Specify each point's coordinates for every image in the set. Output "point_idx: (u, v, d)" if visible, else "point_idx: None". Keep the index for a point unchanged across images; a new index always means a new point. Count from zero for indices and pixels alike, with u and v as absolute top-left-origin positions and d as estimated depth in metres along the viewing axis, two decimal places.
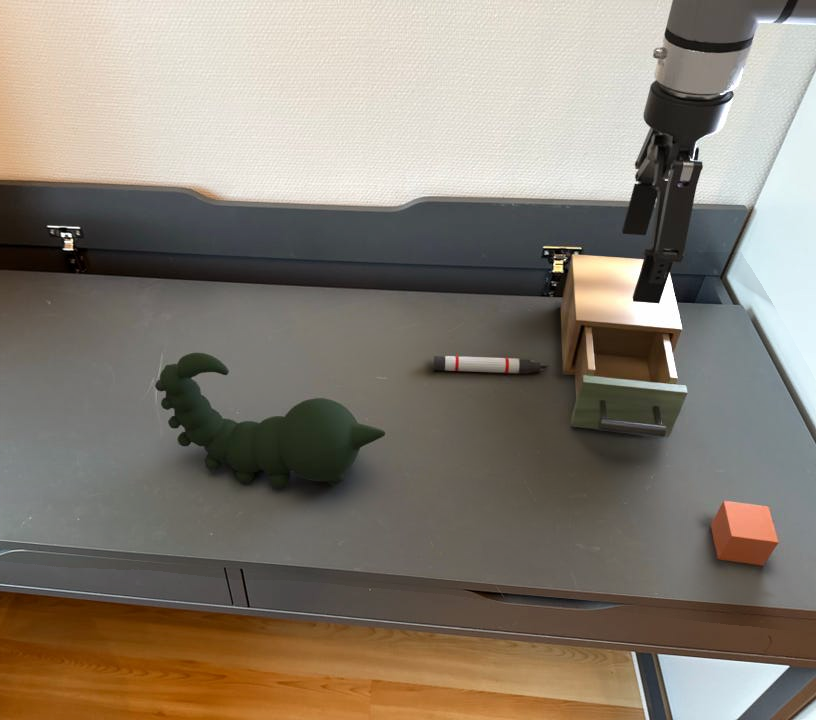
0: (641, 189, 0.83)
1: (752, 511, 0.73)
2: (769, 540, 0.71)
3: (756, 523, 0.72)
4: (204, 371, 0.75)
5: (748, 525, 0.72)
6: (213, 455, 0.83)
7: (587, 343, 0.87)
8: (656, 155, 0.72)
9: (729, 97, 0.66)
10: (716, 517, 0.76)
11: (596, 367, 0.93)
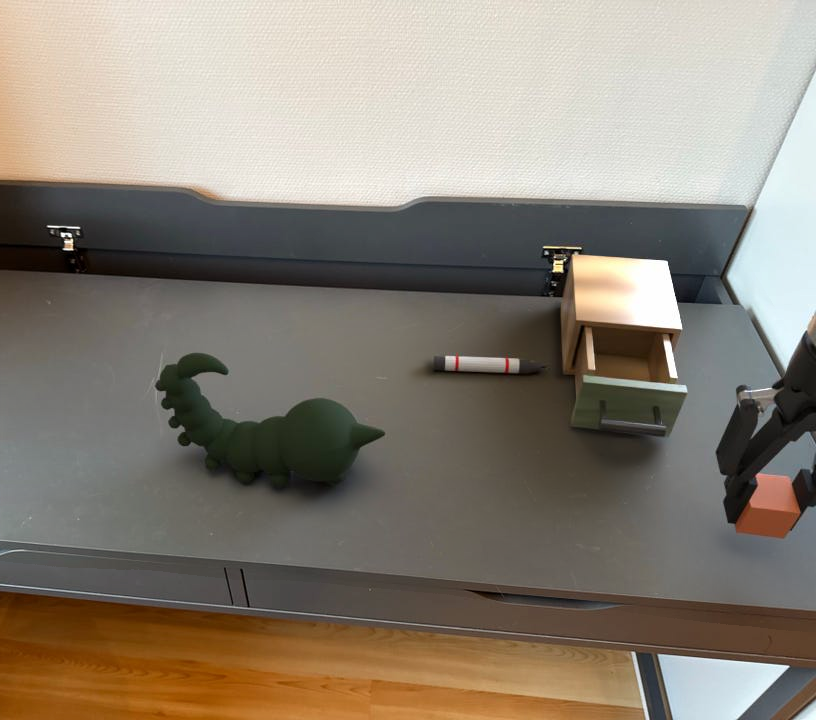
0: None
1: (772, 482, 0.70)
2: (791, 511, 0.67)
3: (777, 494, 0.69)
4: (204, 371, 0.75)
5: (768, 496, 0.69)
6: (213, 455, 0.83)
7: (587, 343, 0.87)
8: None
9: None
10: None
11: (596, 367, 0.93)
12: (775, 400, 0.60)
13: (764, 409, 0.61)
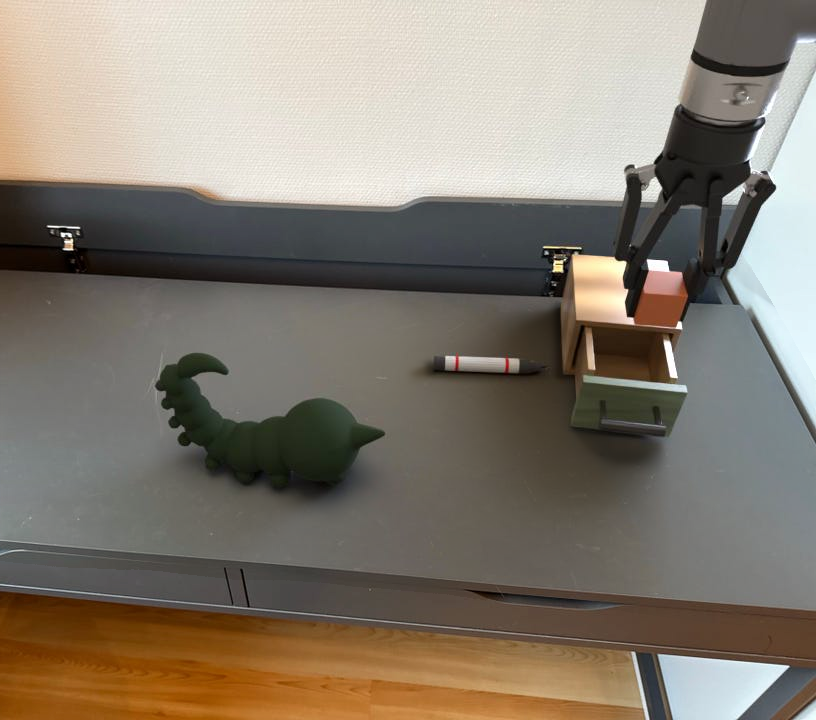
0: None
1: (665, 275, 0.77)
2: (679, 295, 0.74)
3: (668, 284, 0.76)
4: (204, 371, 0.75)
5: (660, 285, 0.76)
6: (213, 455, 0.83)
7: (587, 343, 0.87)
8: (720, 189, 0.66)
9: None
10: None
11: (596, 367, 0.93)
12: (655, 172, 0.67)
13: (647, 184, 0.68)
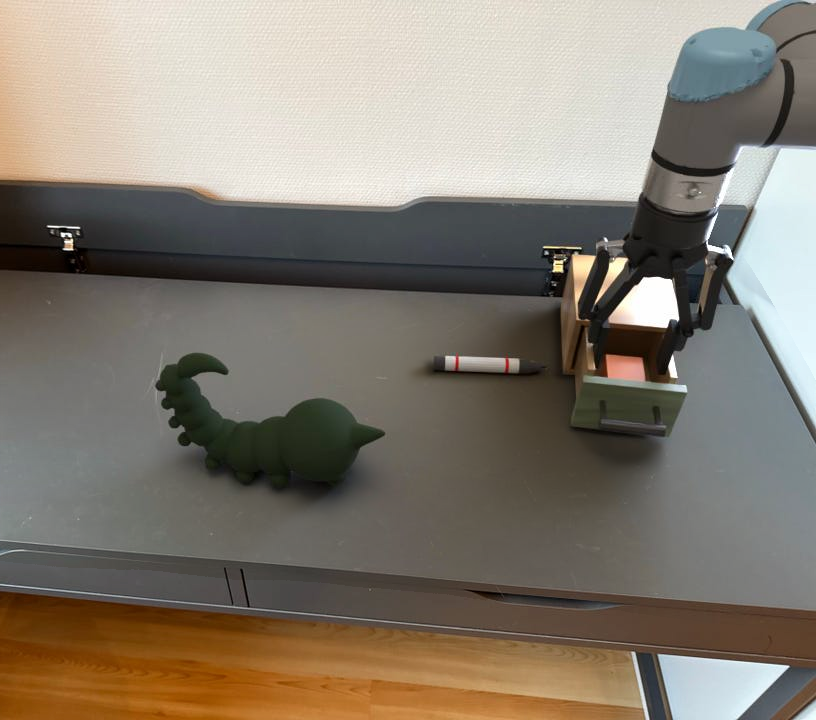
0: None
1: (628, 361, 0.87)
2: (638, 380, 0.85)
3: (630, 369, 0.86)
4: (204, 371, 0.75)
5: (622, 370, 0.86)
6: (213, 455, 0.83)
7: (587, 343, 0.87)
8: (682, 265, 0.73)
9: None
10: (601, 370, 0.90)
11: None
12: (623, 248, 0.75)
13: (615, 257, 0.76)
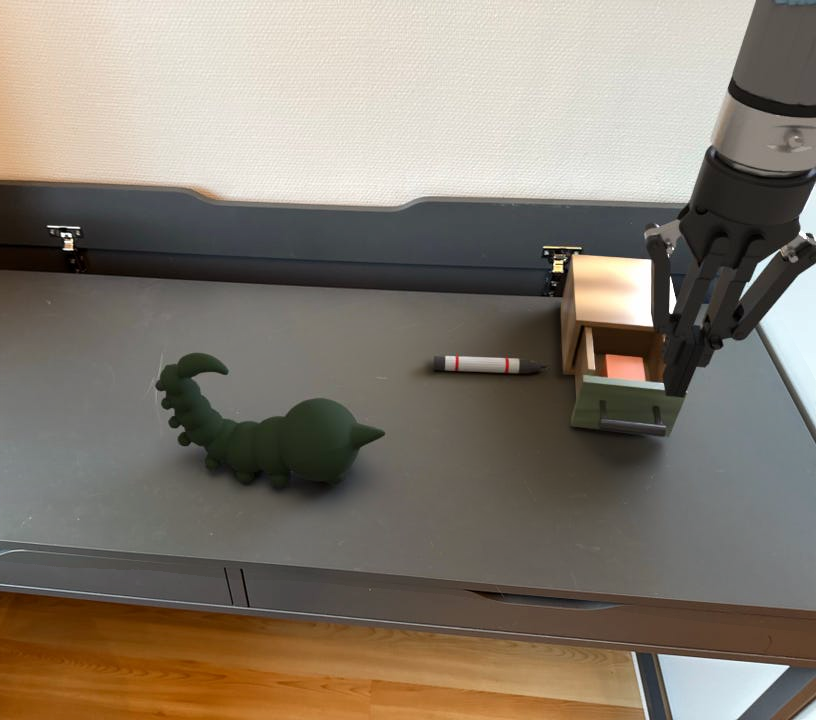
0: None
1: (628, 361, 0.87)
2: (638, 380, 0.85)
3: (630, 369, 0.86)
4: (204, 371, 0.75)
5: (622, 370, 0.86)
6: (213, 455, 0.83)
7: (587, 343, 0.87)
8: (760, 251, 0.53)
9: None
10: (601, 370, 0.90)
11: (596, 367, 0.93)
12: (680, 230, 0.55)
13: (674, 245, 0.56)
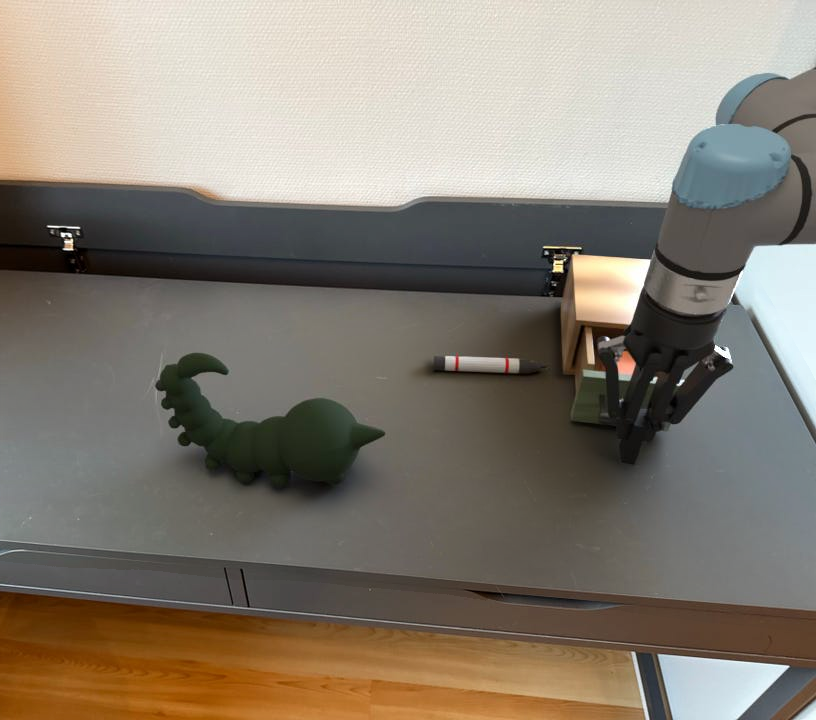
0: None
1: (627, 356, 0.88)
2: None
3: (629, 364, 0.87)
4: (204, 371, 0.75)
5: (622, 365, 0.87)
6: (213, 455, 0.83)
7: (587, 338, 0.88)
8: (684, 363, 0.69)
9: (698, 280, 0.68)
10: (601, 365, 0.91)
11: (596, 362, 0.94)
12: (624, 345, 0.70)
13: (621, 354, 0.71)
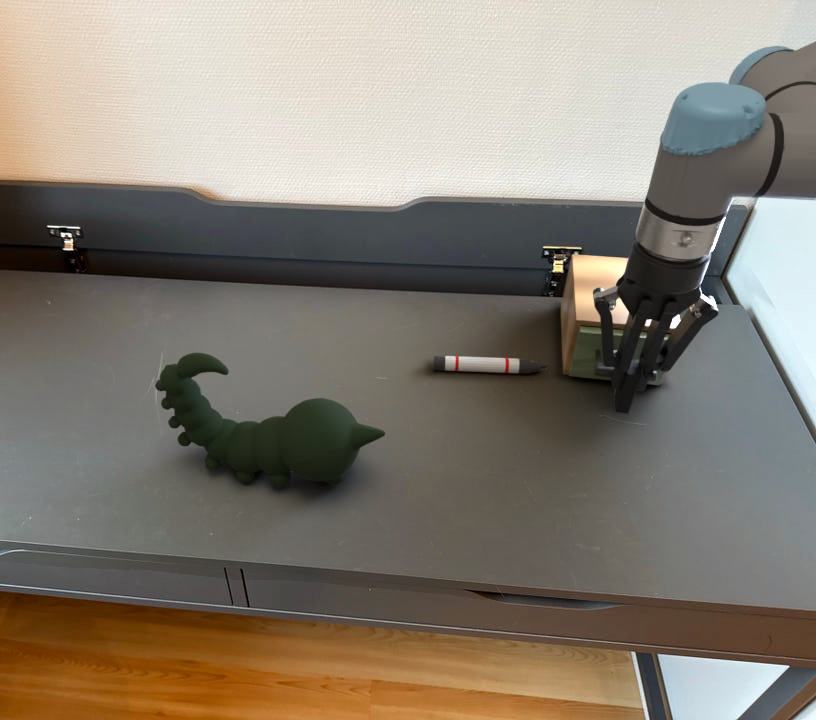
0: None
1: None
2: None
3: None
4: (204, 371, 0.75)
5: None
6: (213, 455, 0.83)
7: None
8: (673, 310, 0.75)
9: None
10: None
11: None
12: (618, 294, 0.76)
13: (615, 304, 0.77)
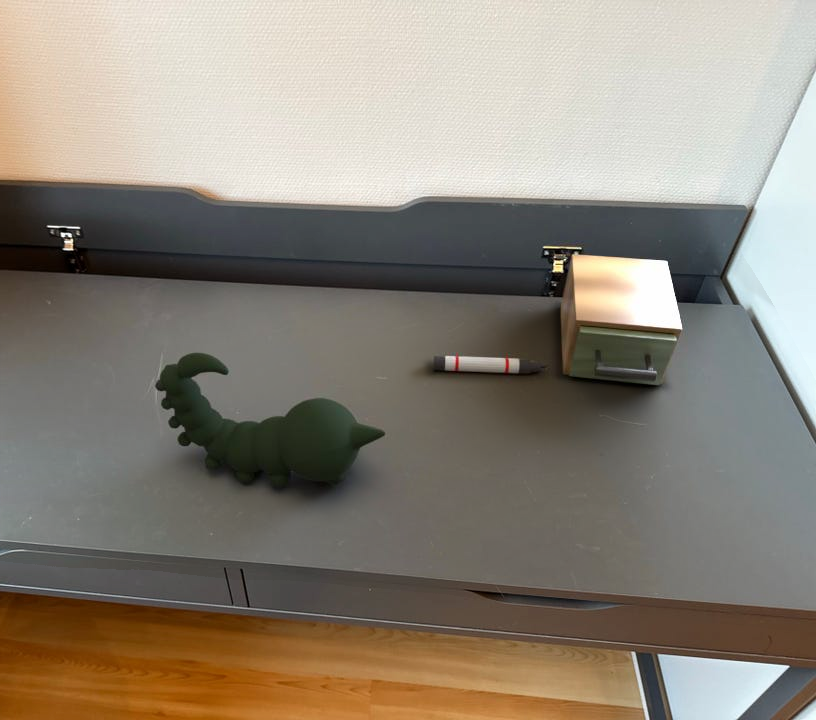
0: None
1: None
2: None
3: None
4: (204, 371, 0.75)
5: None
6: (213, 455, 0.83)
7: None
8: None
9: None
10: None
11: None
12: None
13: None
